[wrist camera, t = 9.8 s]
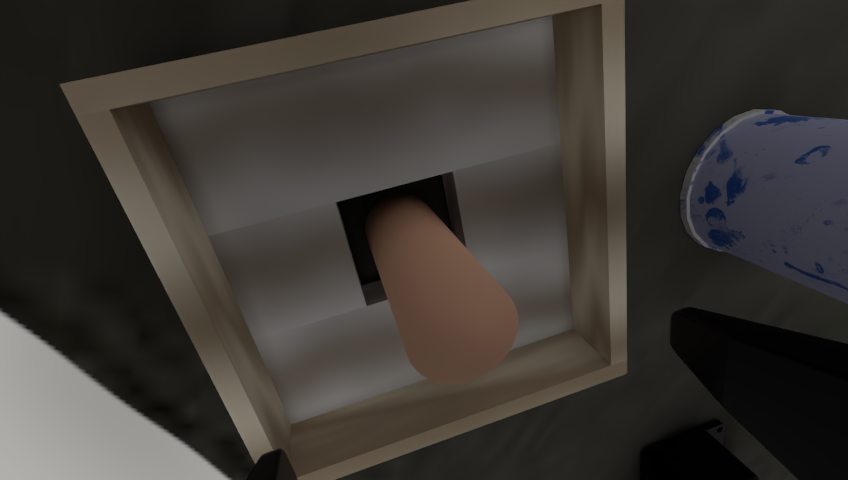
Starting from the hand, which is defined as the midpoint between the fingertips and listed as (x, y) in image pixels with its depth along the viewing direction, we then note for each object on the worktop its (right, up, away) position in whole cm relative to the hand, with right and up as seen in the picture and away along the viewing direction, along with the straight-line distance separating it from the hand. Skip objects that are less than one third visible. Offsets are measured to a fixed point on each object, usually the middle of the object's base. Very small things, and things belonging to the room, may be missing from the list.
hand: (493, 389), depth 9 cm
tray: (-3, +4, +10) cm, 11 cm away
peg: (-3, +4, +10) cm, 11 cm away
